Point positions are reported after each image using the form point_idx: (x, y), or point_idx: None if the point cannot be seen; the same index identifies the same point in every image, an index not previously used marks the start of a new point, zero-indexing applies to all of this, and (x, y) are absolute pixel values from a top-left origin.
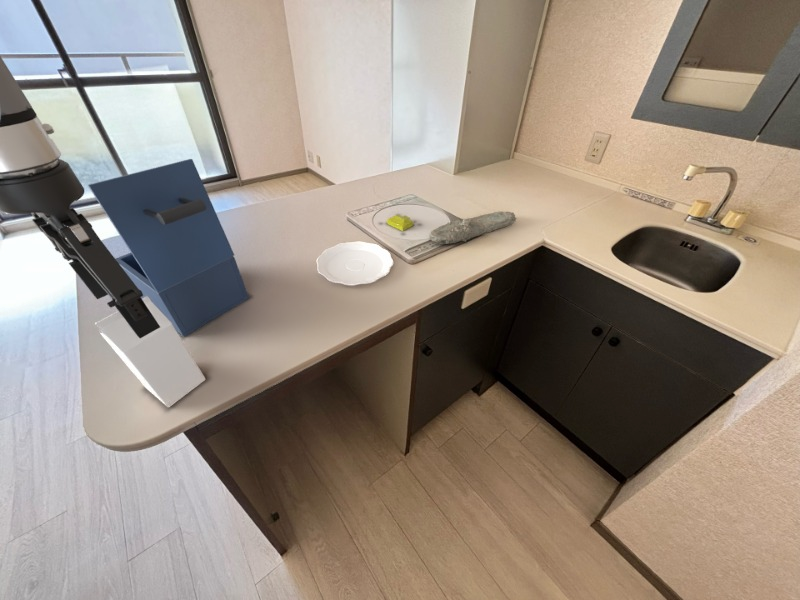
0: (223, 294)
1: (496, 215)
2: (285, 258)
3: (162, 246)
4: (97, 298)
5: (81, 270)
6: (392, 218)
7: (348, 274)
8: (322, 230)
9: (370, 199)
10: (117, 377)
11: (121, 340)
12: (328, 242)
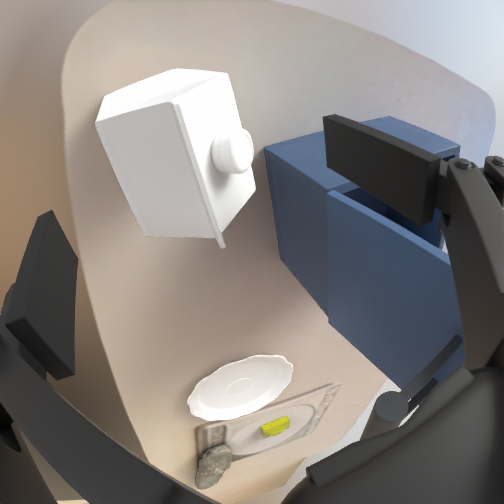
0: (293, 246)
1: (211, 482)
2: (323, 316)
3: (394, 285)
4: (325, 118)
5: (400, 163)
6: (285, 425)
7: (227, 378)
8: (336, 359)
9: (340, 403)
10: (242, 34)
11: (123, 131)
12: (309, 364)
